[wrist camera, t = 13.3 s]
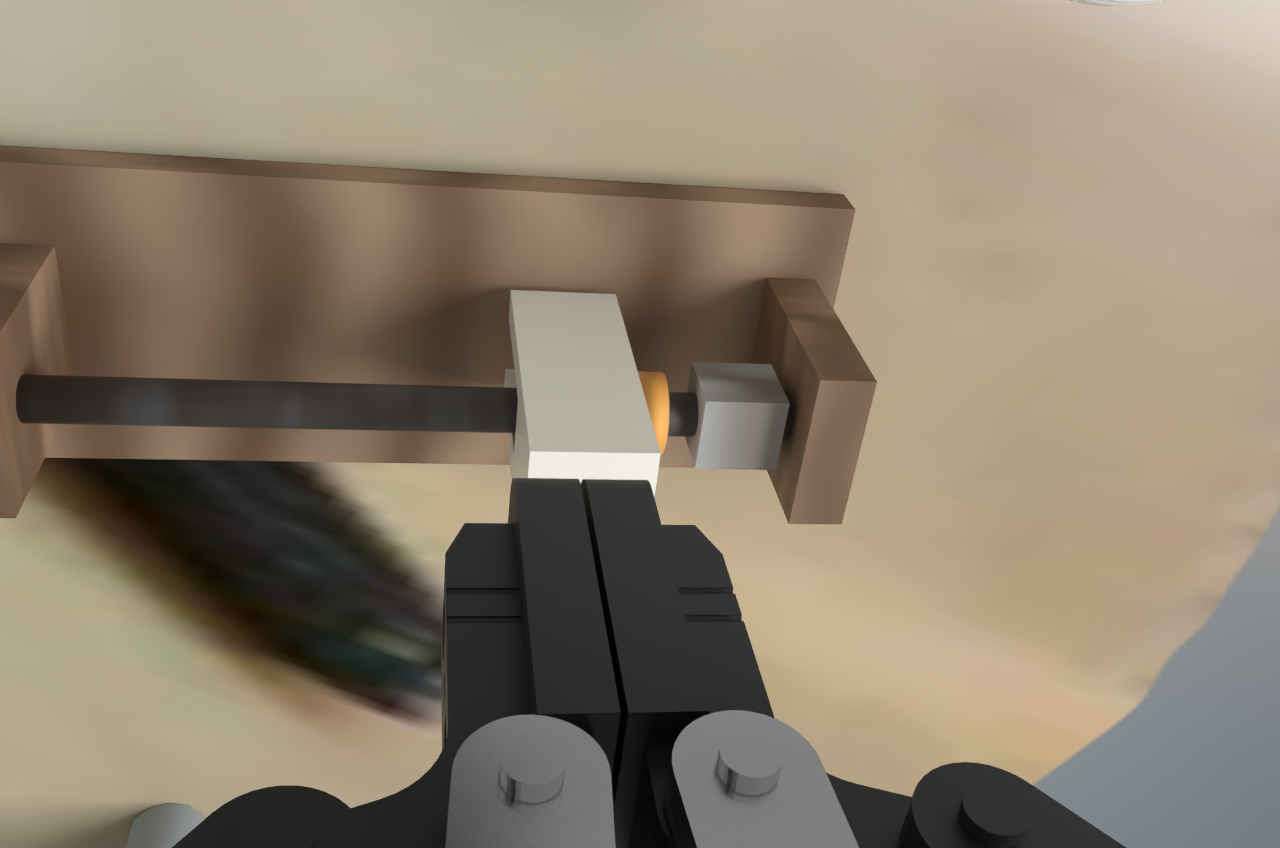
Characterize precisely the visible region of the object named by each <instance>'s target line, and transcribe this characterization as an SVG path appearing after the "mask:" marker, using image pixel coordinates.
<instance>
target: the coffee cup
mask: <svg viewBox="0 0 1280 848" xmlns="http://www.w3.org/2000/svg"><path fill="white" fill-rule="evenodd" d="M1071 1H1075V2H1079V3H1084V4H1090V5H1098V6H1133V5H1142V4H1149V3H1155V2H1159V1H1164V0H1071Z"/></svg>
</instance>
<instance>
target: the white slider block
mask: <svg viewBox="0 0 1280 848" xmlns="http://www.w3.org/2000/svg"><path fill="white" fill-rule="evenodd" d="M509 325H510V334H511V343H512V352H513V361H514V369H505V383H504V387H510V388H517V397H518V405H517V418H516V432H515V433H507V436H508V446H509V457H510V467H511V478H512V479H513V478H557V479H579V481H580V484H581V482H582V480H583V479H611V480H648V481H649V482H650V484H651V488H652V491H653V495H654V496H655V489H656V483H657V476H658V469H659V462H660V455H661V453H660V449H659V446H658V442H657V439H656V435H655V431H654V428H653V424H652V421H651V417H650V414H649V410H648V407H647V403H646V399H645V396H644V392H643V389H642V385H641V382H640V378H639V375H638V371H637V367H636V364H635V360H634V357H633V353H632V350H631V346H630V343H629V339H628V336H627V332H626V328H625V325H624V321H623V318H622V314H621V311H620V307H619V304H618V300H617V296H616V294H599V293H575V292H551V291H526V290H511V291H510V306H509Z"/></svg>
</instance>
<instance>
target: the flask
mask: <svg viewBox="0 0 1280 848" xmlns="http://www.w3.org/2000/svg"><path fill="white" fill-rule="evenodd" d="M205 819H206V818H205V817H204V816H203V815H202V814H201V813H199V812H198V811H196V810H195V809H193V808H191V807H190V806H188V805H181V804H174V803H168V804H164V805H159V806H155V807H152V808H150V809H148V810H146V811H144V812H143V813H141V814H140V815H139V816H138V817H137V818H135V819H134V820H133V821H132V825H131V829H130V833H129V837H128V841H127V844H126V848H172V847H173V846H174V845H175V844H176V843H178V842H179V841H180V840H181V839H182V838H183V837H185V836H186V835H187V834H188V833H189V832H191V831H192V830H193V829H194V828H195V827H196V826H198V825H199V824H200V823H201V822H202V821H203V820H205Z"/></svg>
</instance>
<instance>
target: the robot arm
mask: <svg viewBox="0 0 1280 848" xmlns="http://www.w3.org/2000/svg"><path fill="white" fill-rule="evenodd" d="M741 615H742V614H741V611H740V608H739V605H738V602H737V599H736V595H735V594H733V586H732V583H731V580H730V577H729V574H728V570H727V567H726V564H725V561H724V558H723V555H722V553H721V552H720V551H719V550H718V549H717V548H716V547H715V546H714V545H713V544H712V543H711V542H710V541H709V540H708V539H707V538H706V536H705V535H704V534H703V533H702V532H701V531H700V530H699V529H698V528H697V527H696V526H695V525H661V522H660V518H659V514H658V510H657V507H656V503H655V499H654V495H653V491H652V488H651V484H650V482H649V481H648V480H611V479H583V480H582V482H581V484H580V481H579V479H557V478H513V479H512V484H511V491H510V504H509V518H508V524H495V523H465V524H464V525H463V527H462V529H461V530H460V532H459V533H458V535H457V536H456V538H455V539H454V541H453V543H452V544H451V546H450V547H449V549H448V550H447V552H446V555H445V581H444V606H443V631H442V656H441V671H442V752H441V754H440V756H439V758H438V759H437V761H436V762H435V763H434V765H433V766H432V767H431V769H430V770H429V771H427V772H426V773H425V774H424V775H423V776H422V777H421V778H420V779H419V780H417V781H416V782H414V783H413V784H412V785H410V786H409V787H407V788H405V789H403V790H401V791H399V792H397V793H396V794H393V795H390V796H388V797H385V798H382V799H380V800H376V801H373V802H370V803H367V804H364V805H360V806H357V807H354V808H351V809H350V808H349V807H348V806H347V805H346V804H345V803H343V802H342V801H341V800H339V799H338V798H336V797H334V796H332V795H330V794H328V793H326V792H324V791H320V790H317V789H314V788H309V787H303V786H275V787H267V788H263V789H259V790H255V791H251V792H249V793H246V794H244V795H241V796H239V797H237V798H235V799H233V800H231V801H229V802H227V803H226V804H224V805H222V806H221V807H220V808H218V809H217V810H216V811H214V812H213V813H212V814H211V815H209V816H208V817H207V818H206V819H205V820H203V821H202V822H201V823H200V824H199V825H198V826H196V827H195V828H194V829H193V830H192V831H191V832H189V833H188V834H187V835H186V836H185V837H183V838H182V839H181V840H180V841H179V842H178V843H176V844H175V845H174V846H173V847H172V848H1126V847H1124V846H1123V845H1121V844H1120V843H1118V842H1117V841H1115V840H1114V839H1112V838H1111V837H1109V836H1108V835H1106V834H1104V833H1103V832H1102V831H1100V830H1099V829H1097V828H1096V827H1094V826H1093V825H1091V824H1090V823H1088V822H1087V821H1085V820H1084V819H1082V818H1081V817H1079V816H1078V815H1076V814H1075V813H1073V812H1072V811H1070V810H1069V809H1067V808H1066V807H1064V806H1063V805H1061V804H1060V803H1058V802H1057V801H1055V800H1054V799H1052V798H1051V797H1049V796H1048V795H1046V794H1045V793H1043V792H1041V791H1040V790H1039V789H1037V788H1036V787H1034V786H1033V785H1031V784H1030V783H1028V782H1026V781H1025V780H1023V779H1021V778H1019V777H1018V776H1016V775H1014V774H1012V773H1009V772H1007V771H1005V770H1002V769H999V768H996V767H993V766H990V765H984V764H979V763H968V762H962V763H951V764H947V765H943V766H940V767H938V768H936V769H933V770H932V771H930V772H929V773H928V774H926V775H925V776H924V777H923V778H922V779H921V780H920V782H919V783H918V784H917V787H916V789H915V791H914V793H913V796H912V797H909V796H905V795H901V794H896V793H892V792H888V791H884V790H880V789H875V788H871V787H867V786H863V785H859V784H855V783H852V782H848V781H845V780H842V779H839V778H837V777H835V776H832V775H830V774H828V773H826V772H825V769H824V767H823V765H822V762H821V760H820V758H819V757H818V755H817V753H816V751H815V750H814V748H813V747H812V746H811V745H810V743H809V742H808V741H807V740H806V739H805V738H804V737H803V736H802V735H801V734H800V733H799V732H797V731H796V730H794V729H793V728H791V727H790V726H789V725H787V724H785V723H783V722H781V721H779V720H777V719H775V718H774V715H773V712H772V709H771V705H770V702H769V699H768V696H767V693H766V690H765V687H764V683H763V680H762V677H761V674H760V671H759V668H758V665H757V661H756V658H755V655H754V652H753V649H752V646H751V643H750V639H749V636H748V633H747V630H746V627H745V624H744V621H742V620H741Z"/></svg>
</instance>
